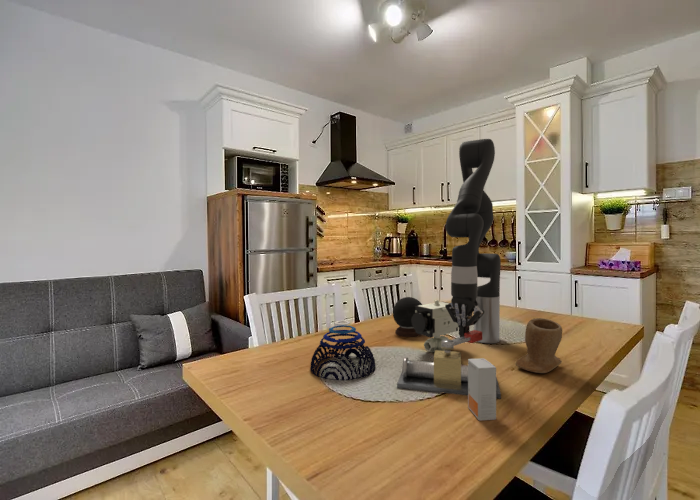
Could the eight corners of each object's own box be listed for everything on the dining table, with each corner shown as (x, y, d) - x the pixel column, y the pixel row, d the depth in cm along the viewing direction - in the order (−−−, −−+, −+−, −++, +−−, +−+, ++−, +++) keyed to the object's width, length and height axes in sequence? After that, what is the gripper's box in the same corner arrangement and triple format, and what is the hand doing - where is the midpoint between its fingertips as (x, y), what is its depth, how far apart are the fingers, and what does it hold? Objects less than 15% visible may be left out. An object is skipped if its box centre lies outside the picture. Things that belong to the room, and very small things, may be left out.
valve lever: (473, 337, 110) (473, 329, 110) (483, 340, 107) (483, 331, 107) (439, 348, 100) (439, 339, 100) (448, 351, 98) (448, 342, 97)
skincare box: (467, 408, 86) (467, 358, 86) (484, 407, 87) (484, 357, 86) (478, 421, 80) (478, 368, 80) (497, 420, 81) (497, 367, 80)
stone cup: (551, 380, 101) (551, 327, 101) (509, 368, 111) (510, 319, 110) (573, 367, 111) (573, 318, 110) (533, 357, 120) (533, 312, 119)
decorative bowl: (382, 360, 120) (381, 317, 119) (365, 384, 101) (364, 333, 101) (326, 354, 127) (325, 313, 126) (300, 376, 108) (299, 328, 107)
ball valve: (429, 359, 120) (428, 305, 119) (411, 352, 127) (410, 301, 126) (465, 349, 130) (465, 299, 129) (446, 343, 137) (446, 296, 136)
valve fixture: (403, 371, 110) (403, 339, 109) (496, 380, 102) (496, 346, 102) (397, 387, 98) (396, 352, 98) (500, 399, 91) (501, 360, 90)
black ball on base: (429, 331, 153) (429, 296, 152) (417, 339, 142) (417, 301, 141) (400, 327, 160) (400, 293, 159) (387, 334, 149) (387, 298, 148)
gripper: (491, 282, 105) (490, 340, 107) (454, 277, 116) (454, 330, 117) (475, 284, 101) (474, 346, 102) (438, 279, 112) (438, 334, 113)
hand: (463, 337), depth 110 cm, fingers closed
